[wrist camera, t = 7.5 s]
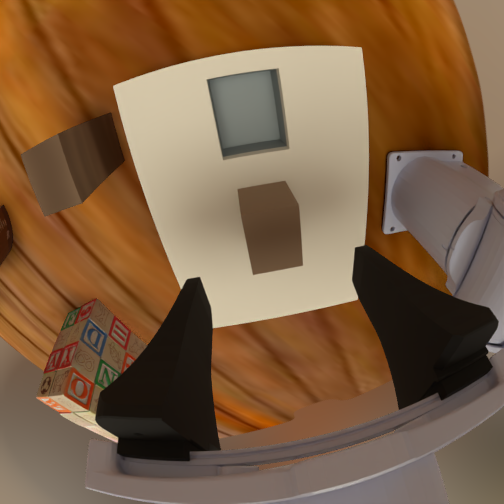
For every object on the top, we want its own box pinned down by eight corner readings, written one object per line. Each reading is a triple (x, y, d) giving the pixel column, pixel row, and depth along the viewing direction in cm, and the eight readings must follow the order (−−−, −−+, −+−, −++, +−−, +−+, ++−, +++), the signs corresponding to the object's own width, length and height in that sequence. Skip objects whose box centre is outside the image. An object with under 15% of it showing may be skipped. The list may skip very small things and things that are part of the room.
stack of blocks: (201, 384, 38) (202, 459, 28) (169, 391, 39) (166, 461, 29) (96, 296, 26) (61, 396, 16) (66, 312, 27) (34, 399, 17)
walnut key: (111, 112, 16) (57, 133, 10) (124, 160, 18) (82, 203, 12) (78, 126, 16) (20, 154, 10) (92, 171, 18) (44, 216, 12)
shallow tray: (334, 55, 15) (352, 52, 13) (341, 271, 27) (351, 292, 24) (137, 86, 15) (123, 88, 13) (203, 297, 27) (202, 320, 24)
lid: (355, 48, 12) (392, 43, 9) (354, 293, 24) (371, 328, 21) (117, 85, 13) (86, 89, 9) (200, 323, 25) (198, 362, 21)
